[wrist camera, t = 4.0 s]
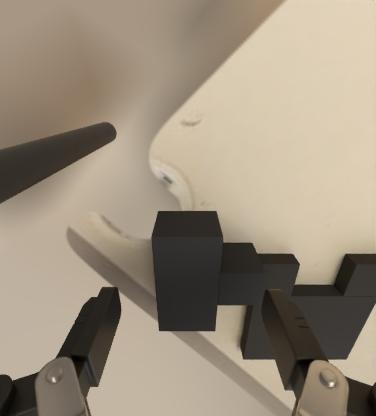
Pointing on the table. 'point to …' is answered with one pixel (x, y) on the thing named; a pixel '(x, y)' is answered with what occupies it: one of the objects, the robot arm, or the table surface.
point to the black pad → (317, 304)
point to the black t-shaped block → (200, 270)
